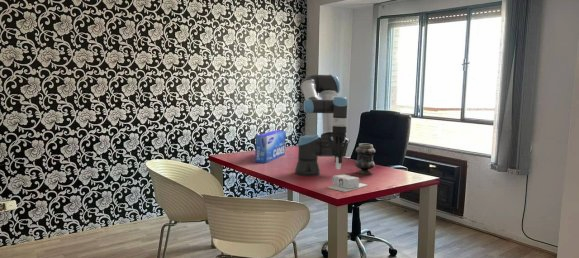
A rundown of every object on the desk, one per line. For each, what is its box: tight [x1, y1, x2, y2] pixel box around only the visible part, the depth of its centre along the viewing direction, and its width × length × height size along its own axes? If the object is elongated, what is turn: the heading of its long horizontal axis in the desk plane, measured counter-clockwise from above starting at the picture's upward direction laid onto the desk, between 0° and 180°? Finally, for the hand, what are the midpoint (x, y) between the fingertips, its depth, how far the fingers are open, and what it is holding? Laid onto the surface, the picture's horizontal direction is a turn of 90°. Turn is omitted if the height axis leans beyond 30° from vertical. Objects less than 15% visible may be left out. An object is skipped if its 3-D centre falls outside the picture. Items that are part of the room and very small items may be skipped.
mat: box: [327, 182, 368, 193], centre depth 234 cm, size 11×20×1 cm, turn 136°
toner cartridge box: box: [254, 129, 287, 164], centre depth 313 cm, size 39×8×18 cm, turn 161°
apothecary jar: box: [354, 142, 376, 176], centre depth 269 cm, size 12×12×18 cm
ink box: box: [332, 173, 360, 188], centre depth 234 cm, size 8×5×12 cm
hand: (338, 168), depth 238 cm, fingers closed
